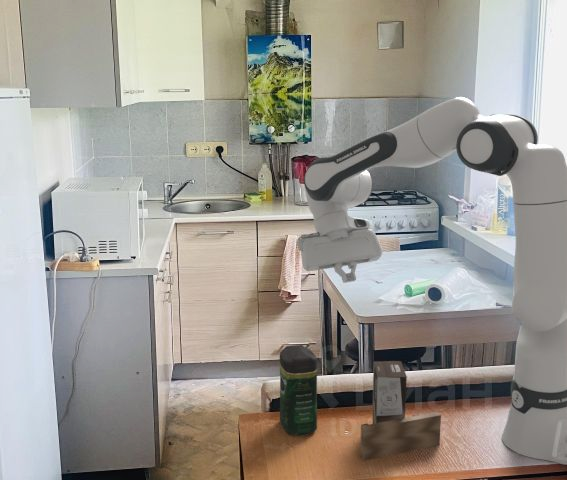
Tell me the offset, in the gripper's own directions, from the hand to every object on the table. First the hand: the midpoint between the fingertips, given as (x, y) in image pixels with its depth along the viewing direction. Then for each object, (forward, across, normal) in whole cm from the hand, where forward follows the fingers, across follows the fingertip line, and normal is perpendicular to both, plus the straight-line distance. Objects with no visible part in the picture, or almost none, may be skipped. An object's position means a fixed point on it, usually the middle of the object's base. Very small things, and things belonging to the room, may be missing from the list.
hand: (349, 281), depth 165 cm
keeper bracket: (+40, -2, -3) cm, 40 cm away
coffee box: (+37, -2, 0) cm, 37 cm away
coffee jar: (+30, -19, +8) cm, 36 cm away
